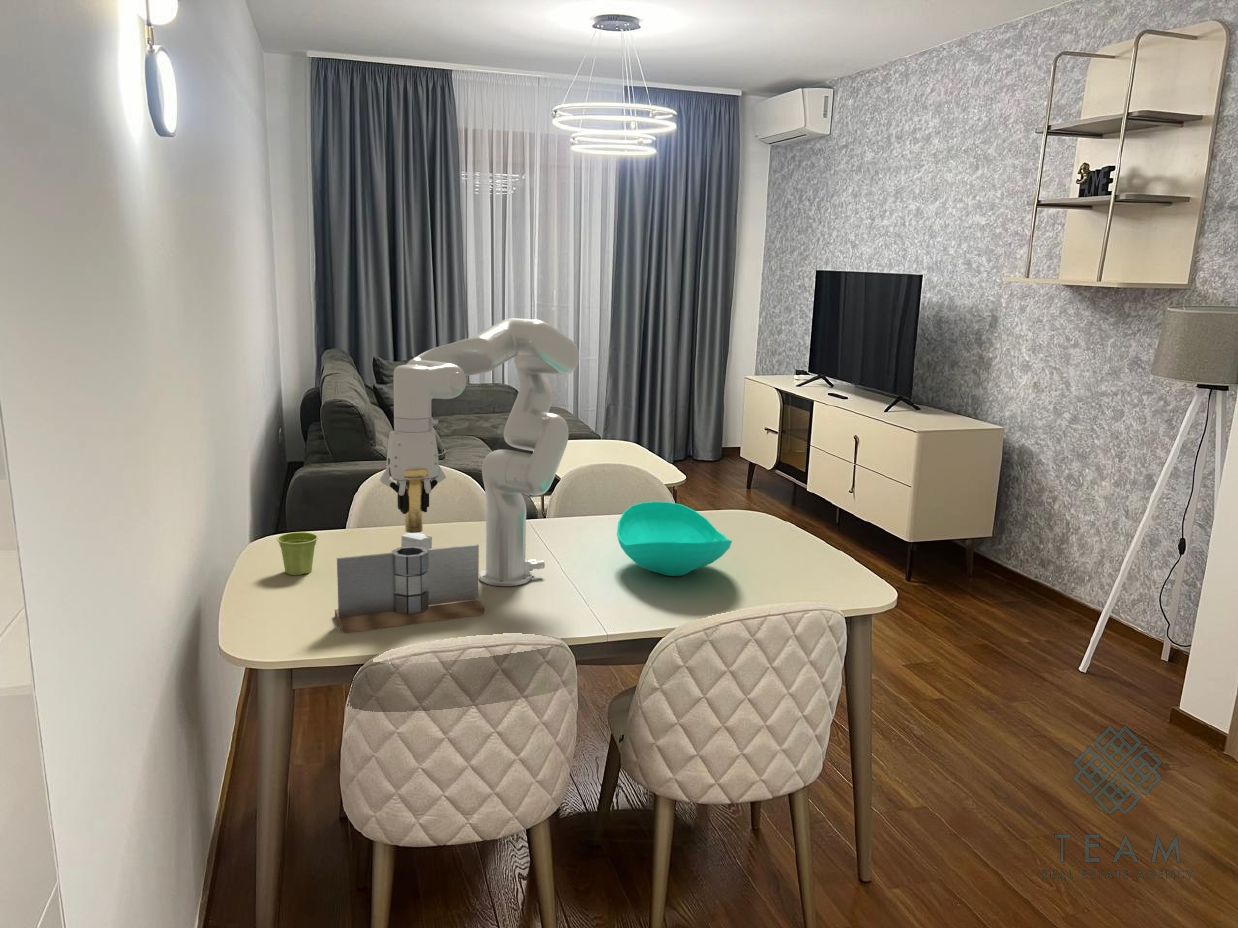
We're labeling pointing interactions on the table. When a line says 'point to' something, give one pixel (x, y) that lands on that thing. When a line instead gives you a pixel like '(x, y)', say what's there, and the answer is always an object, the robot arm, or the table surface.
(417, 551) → the hinge frame
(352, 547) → the table surface
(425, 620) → the base board
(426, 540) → the skincare box
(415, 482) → the hinge pin
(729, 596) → the table surface
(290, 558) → the plant pot
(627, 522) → the table top decor
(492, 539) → the robot arm
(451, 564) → the swing leaf
